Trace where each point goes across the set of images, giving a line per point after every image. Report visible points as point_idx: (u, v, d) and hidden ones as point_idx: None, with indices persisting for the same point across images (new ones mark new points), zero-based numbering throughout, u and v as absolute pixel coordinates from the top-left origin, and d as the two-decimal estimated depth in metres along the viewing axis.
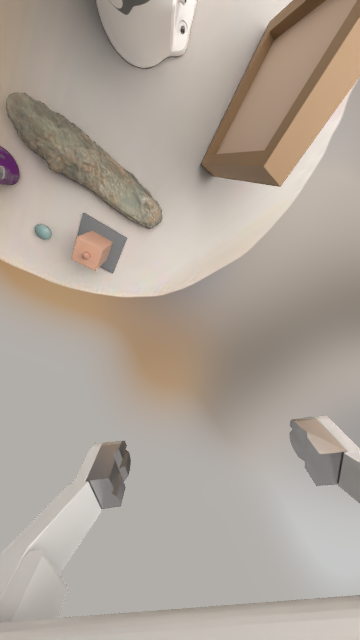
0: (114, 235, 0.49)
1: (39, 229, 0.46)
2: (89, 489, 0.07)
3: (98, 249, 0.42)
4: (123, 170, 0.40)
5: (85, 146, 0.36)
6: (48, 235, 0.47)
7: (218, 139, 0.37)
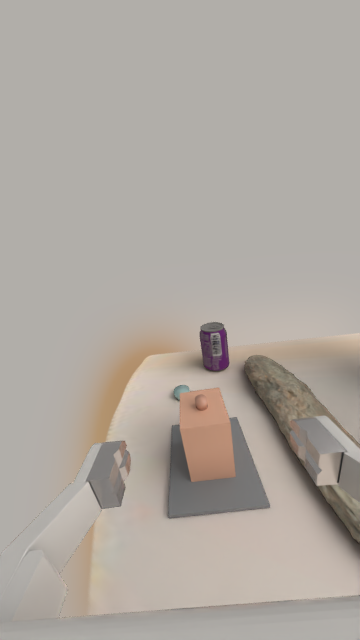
0: (248, 473, 0.23)
1: (182, 388, 0.40)
2: (89, 489, 0.07)
3: (226, 416, 0.21)
4: (346, 432, 0.25)
5: (302, 388, 0.32)
6: None
7: None
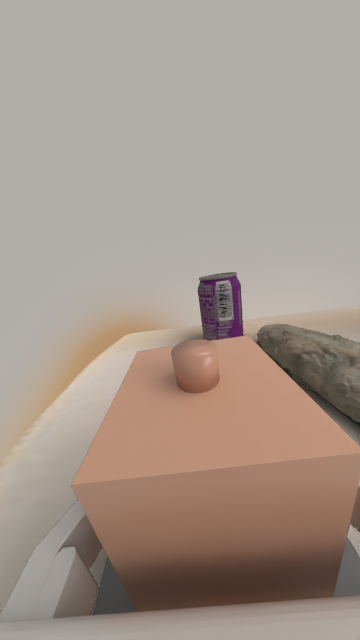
0: None
1: None
2: None
3: (315, 415, 0.04)
4: None
5: None
6: None
7: None
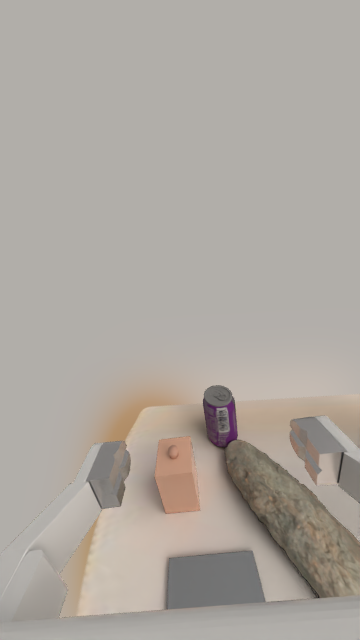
0: None
1: None
2: (89, 489, 0.07)
3: (190, 466, 0.28)
4: None
5: (312, 503, 0.26)
6: None
7: None
